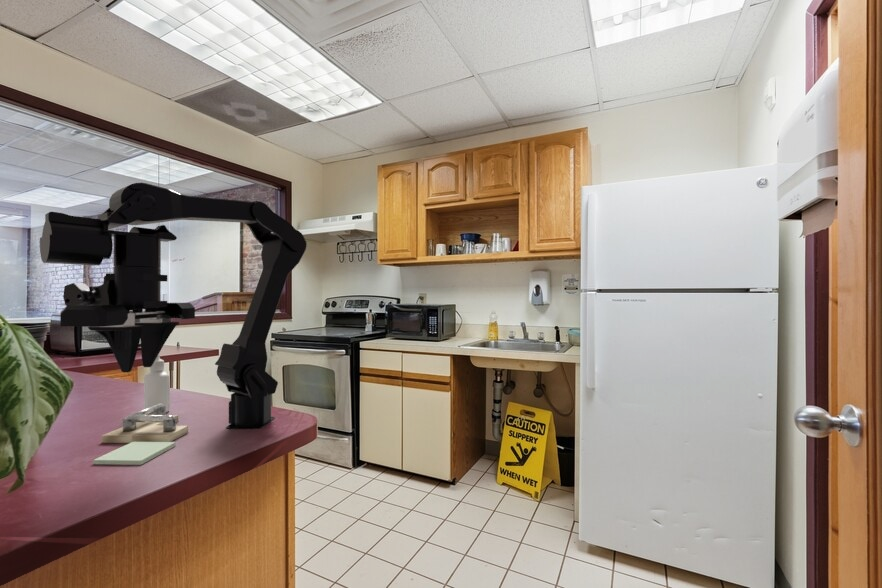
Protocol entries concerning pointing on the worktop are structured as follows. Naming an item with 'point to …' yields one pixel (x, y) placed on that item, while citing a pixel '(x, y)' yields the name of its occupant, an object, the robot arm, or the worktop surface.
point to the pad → (135, 453)
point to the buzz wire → (147, 427)
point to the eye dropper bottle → (157, 386)
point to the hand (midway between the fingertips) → (137, 369)
